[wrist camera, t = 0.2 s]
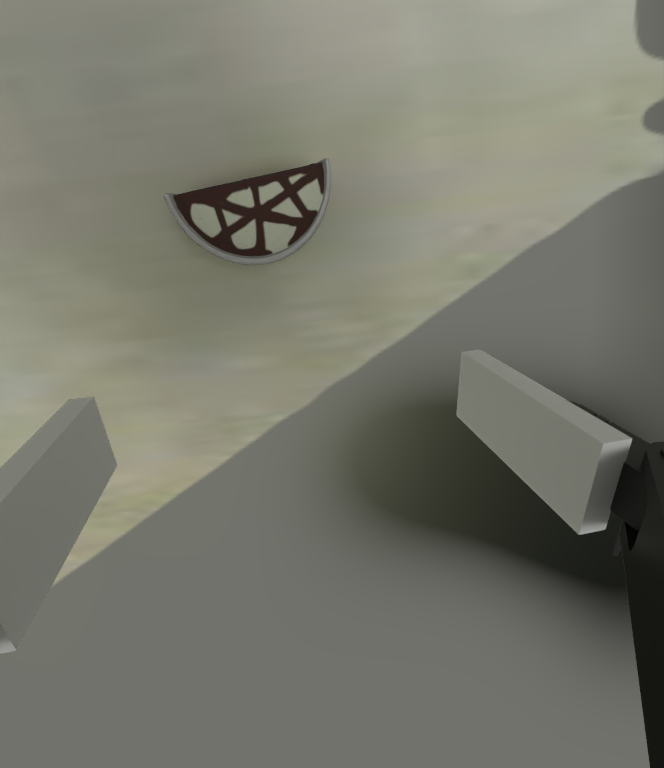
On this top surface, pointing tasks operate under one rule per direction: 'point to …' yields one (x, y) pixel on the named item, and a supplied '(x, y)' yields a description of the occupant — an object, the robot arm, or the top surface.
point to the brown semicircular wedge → (256, 214)
